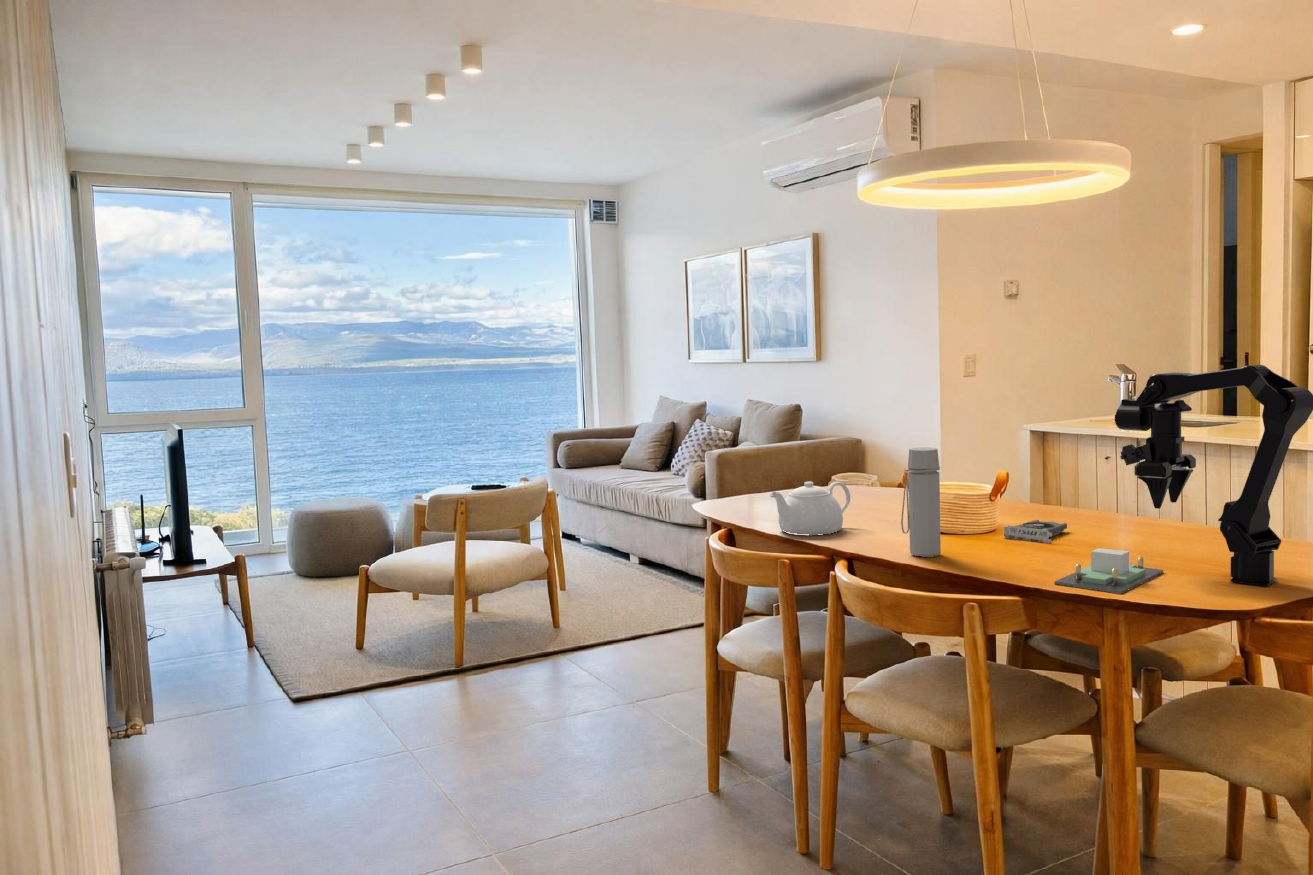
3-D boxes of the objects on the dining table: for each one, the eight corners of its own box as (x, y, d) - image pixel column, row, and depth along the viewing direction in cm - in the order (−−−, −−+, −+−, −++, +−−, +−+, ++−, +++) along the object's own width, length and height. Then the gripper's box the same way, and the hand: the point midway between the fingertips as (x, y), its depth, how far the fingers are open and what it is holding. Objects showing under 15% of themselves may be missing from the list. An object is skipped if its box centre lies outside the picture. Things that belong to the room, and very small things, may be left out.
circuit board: (1150, 571, 202) (1150, 547, 202) (1119, 586, 191) (1119, 561, 191) (1101, 565, 209) (1101, 542, 209) (1068, 579, 199) (1068, 555, 198)
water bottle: (945, 552, 231) (944, 447, 229) (936, 559, 224) (934, 451, 222) (907, 549, 236) (905, 446, 233) (896, 556, 229) (894, 450, 227)
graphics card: (1049, 531, 235) (1002, 525, 244) (1049, 547, 236) (1002, 540, 244) (1079, 521, 247) (1033, 516, 256) (1079, 536, 247) (1033, 530, 256)
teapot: (840, 538, 253) (839, 486, 252) (770, 536, 259) (769, 485, 258) (851, 525, 271) (850, 476, 269) (786, 524, 277) (784, 476, 276)
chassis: (1163, 572, 203) (1163, 555, 203) (1120, 593, 188) (1120, 575, 188) (1099, 564, 213) (1099, 548, 212) (1054, 584, 198) (1054, 566, 197)
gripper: (1142, 427, 219) (1142, 496, 220) (1108, 435, 206) (1109, 508, 208) (1197, 429, 211) (1196, 500, 212) (1165, 437, 198) (1164, 513, 200)
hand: (1165, 505), depth 208 cm, fingers open, 9 cm apart
